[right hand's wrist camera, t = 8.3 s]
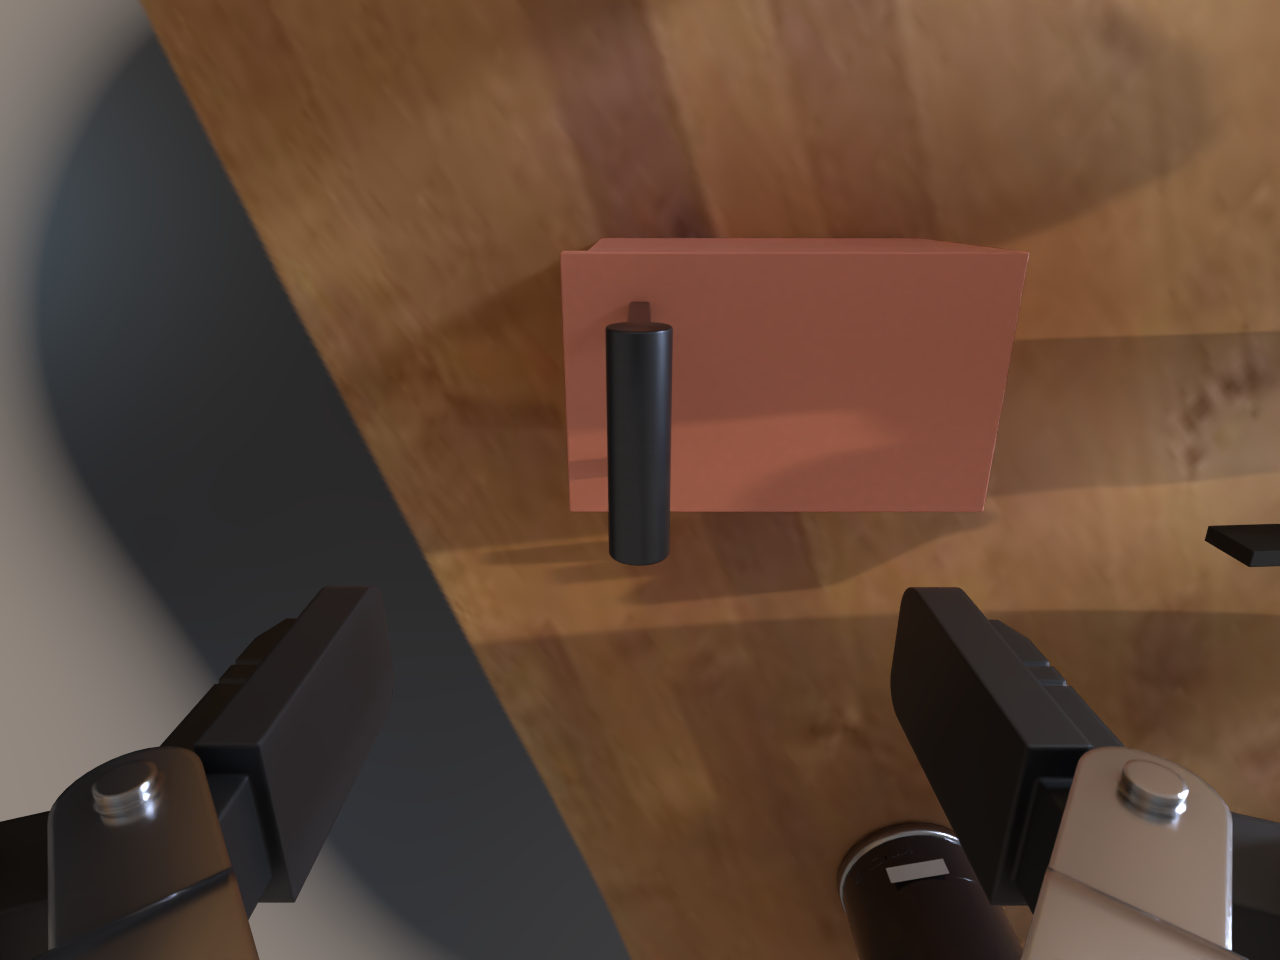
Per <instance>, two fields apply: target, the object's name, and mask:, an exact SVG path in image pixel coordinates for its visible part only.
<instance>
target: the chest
mask: <svg viewBox="0 0 1280 960" xmlns="http://www.w3.org/2000/svg"><path fill="white" fill-rule="evenodd" d="M588 251H1015V250H1008V249H1000V248H992V247H984V246H976V245H968V244H960V243H952V242H945V241H937V240H929V239H921V238H601V239H600V240H599V241H598V242H597V243H596V244H595V245H593V246H592V247H591V248H590V249H589V250H588Z"/></svg>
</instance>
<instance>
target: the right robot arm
mask: <svg viewBox="0 0 1280 960" xmlns="http://www.w3.org/2000/svg"><path fill="white" fill-rule="evenodd" d="M890 683H891V696H892V702H893V707H894V710H895V713H896V716H897V718H898V720H899V722H900V724H901V726H902V728H903V730H904V732H905V734H906V736H907V738H908V740H909V742H910V744H911V746H912V748H913V750H914V752H915V754H916V756H917V758H918V760H919V762H920V764H921V766H922V768H923V770H924V772H925V774H926V776H927V778H928V780H929V782H930V784H931V786H932V788H933V790H934V792H935V794H936V796H937V798H938V800H939V802H940V804H941V806H942V808H943V810H944V812H945V814H946V816H947V818H948V820H949V822H950V824H951V826H952V828H953V830H954V831H952V830H950V829H947V828H945V827H942V826H938V825H933V824H925V823H909V824H901V825H896V826H892V827H889V828H886V829H883V830H880V831H878V832H876V833H874V834H872V835H870V836H868V837H867V838H865V839H864V840H862V841H861V842H859V843H858V844H857V845H856V846H855V847H854V848H853V849H852V850H851V851H850V852H849V853H848V855H847V856H846V857H845V859H844V861H843V862H842V864H841V867H840V869H839V872H838V878H837V887H838V892H839V896H840V899H841V903H842V906H843V908H844V911H845V912H846V914H847V917H848V921H849V924H850V928H851V931H852V935H853V939H854V942H855V947H856V950H857V953H858V957H859V960H1280V823H1278V822H1273V821H1269V820H1264V819H1260V818H1255V817H1251V816H1246V815H1241V814H1237V813H1233V812H1230V810H1229V808H1228V806H1227V804H1226V803H1225V802H1224V800H1223V799H1222V797H1221V796H1220V795H1219V794H1218V793H1217V792H1216V791H1215V790H1214V789H1213V788H1212V787H1211V786H1210V785H1209V784H1208V783H1206V782H1205V781H1204V780H1203V779H1201V778H1200V777H1198V776H1197V775H1196V774H1194V773H1193V772H1191V771H1189V770H1187V769H1186V768H1184V767H1182V766H1181V765H1178V764H1176V763H1174V762H1172V761H1170V760H1168V759H1166V758H1163V757H1161V756H1158V755H1155V754H1152V753H1149V752H1146V751H1142V750H1138V749H1133V748H1127V747H1125V746H1124V745H1123V744H1122V743H1121V742H1120V741H1119V740H1118V738H1117V737H1116V736H1115V735H1114V734H1113V733H1112V732H1111V731H1110V729H1109V728H1108V727H1107V726H1106V725H1105V724H1104V723H1103V722H1102V720H1101V719H1100V718H1099V717H1098V716H1097V715H1096V714H1095V713H1094V712H1093V710H1092V709H1091V708H1090V707H1089V706H1088V705H1087V704H1086V703H1085V701H1084V700H1083V699H1082V698H1081V697H1080V696H1079V695H1078V694H1077V692H1076V691H1075V690H1074V689H1073V688H1072V687H1071V686H1067V685H1066V680H1065V679H1064V678H1063V677H1062V676H1061V675H1060V673H1059V672H1058V671H1057V670H1056V669H1055V668H1054V667H1050V665H1049V661H1048V660H1047V659H1046V658H1045V657H1044V655H1043V654H1042V653H1041V652H1040V651H1039V650H1038V649H1037V648H1036V646H1035V645H1034V644H1033V643H1032V642H1031V641H1030V640H1029V639H1028V638H1026V637H1025V636H1023V635H1021V634H1020V633H1018V632H1017V631H1015V630H1013V629H1012V628H1010V627H1008V626H1007V625H1005V624H1004V623H1002V622H1000V621H999V620H987V618H986V617H985V616H984V615H983V614H982V612H981V611H980V610H979V609H978V608H977V606H976V605H975V604H974V603H973V602H972V600H971V599H970V598H969V597H968V596H967V594H966V593H965V592H964V591H963V590H962V589H960V588H957V587H910V588H907V589H906V591H905V592H904V594H903V597H902V600H901V606H900V613H899V620H898V627H897V634H896V641H895V648H894V655H893V662H892V669H891V681H890ZM392 693H393V669H392V662H391V655H390V648H389V641H388V634H387V627H386V620H385V613H384V605H383V600H382V596H381V593H380V591H379V589H378V588H377V587H375V586H326V587H324V588H322V589H321V590H320V591H319V592H318V594H317V595H316V596H315V597H314V598H313V600H312V601H311V602H310V603H309V605H308V606H307V607H306V608H305V609H304V611H303V612H302V613H301V614H300V615H299V617H298V618H297V619H285V620H284V621H282V622H280V623H279V624H277V625H276V626H274V627H272V628H271V629H269V630H268V631H266V632H264V633H263V634H261V635H260V636H258V637H256V638H255V639H254V640H253V642H252V643H251V644H250V645H249V646H248V647H247V648H246V649H245V651H244V652H243V653H242V654H241V655H240V656H239V657H238V658H237V660H236V664H235V665H231V666H230V667H229V669H228V670H227V671H226V672H225V673H224V674H223V675H222V677H221V678H220V679H219V684H215V685H214V686H213V687H212V688H211V689H210V690H209V691H208V692H207V694H206V695H205V696H204V697H203V698H202V699H201V700H200V701H199V703H198V704H197V705H196V706H195V707H194V708H193V709H192V710H191V712H190V713H189V714H188V715H187V716H186V717H185V718H184V720H183V721H182V722H181V723H180V724H179V725H178V726H177V727H176V729H175V730H174V731H173V732H172V733H171V734H170V735H169V736H168V738H167V739H166V740H165V741H164V742H163V743H162V744H161V746H160V747H154V748H147V749H143V750H138V751H134V752H131V753H128V754H125V755H122V756H119V757H117V758H114V759H112V760H110V761H108V762H106V763H104V764H102V765H100V766H98V767H96V768H94V769H93V770H91V771H89V772H87V773H86V774H85V775H83V776H82V777H80V778H79V779H77V780H76V781H75V782H74V783H73V784H71V785H70V786H69V787H68V788H67V789H66V790H65V791H64V792H63V793H62V794H61V795H60V796H59V797H58V799H57V800H56V802H55V803H54V804H53V806H52V808H51V810H50V811H47V812H42V813H38V814H33V815H29V816H24V817H20V818H15V819H11V820H6V821H2V822H0V960H259V957H258V953H257V950H256V946H255V943H254V939H253V936H252V932H251V929H250V925H249V922H248V920H249V918H250V916H251V914H252V912H253V911H254V909H255V907H256V905H257V903H258V902H295V901H296V899H297V897H298V895H299V893H300V890H301V888H302V886H303V884H304V882H305V880H306V878H307V876H308V874H309V872H310V870H311V868H312V866H313V864H314V862H315V860H316V858H317V856H318V854H319V852H320V850H321V848H322V846H323V844H324V842H325V840H326V838H327V836H328V834H329V832H330V830H331V828H332V826H333V824H334V822H335V819H336V818H337V816H338V813H339V812H340V809H341V807H342V805H343V803H344V801H345V799H346V797H347V795H348V793H349V791H350V789H351V787H352V785H353V783H354V781H355V779H356V777H357V775H358V773H359V771H360V769H361V767H362V765H363V763H364V761H365V759H366V757H367V755H368V753H369V751H370V749H371V747H372V745H373V743H374V741H375V739H376V737H377V735H378V732H379V730H380V729H381V726H382V724H383V722H384V720H385V718H386V716H387V714H388V711H389V708H390V704H391V699H392ZM1001 905H1028V906H1029V908H1030V910H1031V911H1032V913H1033V918H1032V922H1031V925H1030V929H1029V932H1028V936H1027V939H1026V943H1025V946H1024V949H1023V947H1022V945H1021V944H1020V942H1019V940H1018V938H1017V936H1016V934H1015V932H1014V930H1013V928H1012V926H1011V924H1010V922H1009V920H1008V918H1007V916H1006V914H1005V912H1004V910H1003V908H1002V906H1001Z"/></svg>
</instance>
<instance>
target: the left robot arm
mask: <svg viewBox="0 0 1280 960" xmlns="http://www.w3.org/2000/svg"><path fill="white" fill-rule="evenodd" d="M1205 541H1207V542H1208V543H1210V544H1212V545H1213V546H1215V547H1217V548H1218V549H1220V550H1222V551H1223V552H1225V553H1227V554H1228V555H1230V556H1232V557H1233V558H1235V559H1237V560H1238V561H1240V562H1242V563H1243V564H1245V565H1247V566H1248V567H1264V566H1280V524H1258V525H1226V526H1209V527H1208V530H1207V534H1206V538H1205Z"/></svg>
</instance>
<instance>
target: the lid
mask: <svg viewBox="0 0 1280 960" xmlns="http://www.w3.org/2000/svg"><path fill="white" fill-rule="evenodd" d="M1028 258H1029V253H1028V252H1024V251H562V252H561V253H560V267H561V294H562V321H563V348H564V375H565V403H566V430H567V457H568V484H569V510H570V511H571V512H608V521H609V553H610V556H611V557H612V558H613V559H614V560H616V561H618V562H620V563H623V564H628V565H638V566H640V565H651V564H655V563H658V562H660V561H662V560H664V559H665V558H666V557H667V556H668V554H669V548H670V512H983V509H984V504H985V498H986V493H987V487H988V481H989V476H990V470H991V465H992V459H993V454H994V448H995V442H996V437H997V431H998V426H999V420H1000V414H1001V409H1002V403H1003V398H1004V392H1005V386H1006V381H1007V375H1008V370H1009V364H1010V359H1011V353H1012V347H1013V342H1014V336H1015V331H1016V325H1017V319H1018V314H1019V308H1020V303H1021V297H1022V292H1023V286H1024V280H1025V275H1026V269H1027V264H1028Z"/></svg>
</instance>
